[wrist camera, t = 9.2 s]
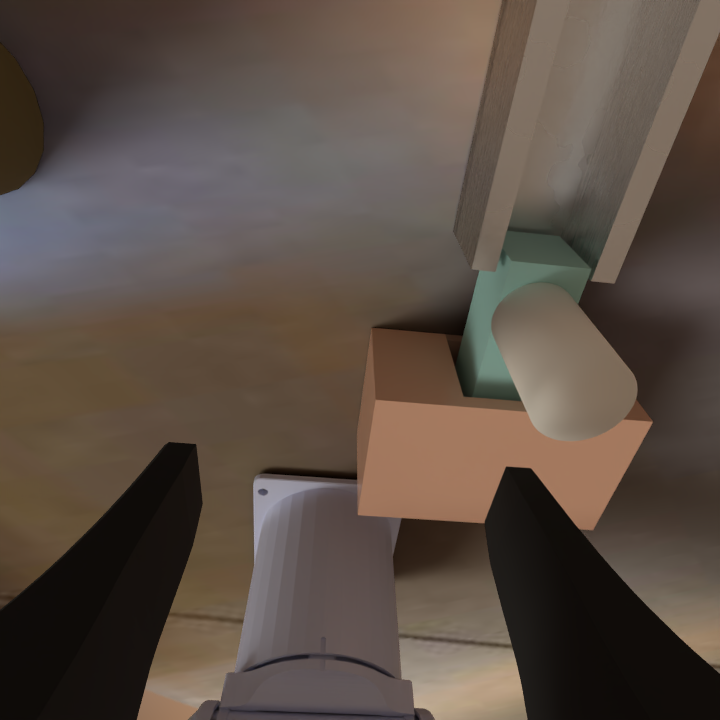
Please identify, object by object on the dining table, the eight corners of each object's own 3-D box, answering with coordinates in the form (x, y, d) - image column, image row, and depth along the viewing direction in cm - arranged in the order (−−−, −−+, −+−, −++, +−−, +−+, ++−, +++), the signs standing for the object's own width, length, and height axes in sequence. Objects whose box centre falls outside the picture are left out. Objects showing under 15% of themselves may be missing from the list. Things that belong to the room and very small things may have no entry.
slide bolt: (504, 406, 23) (560, 547, 17) (443, 401, 23) (477, 542, 16) (561, 235, 19) (665, 341, 12) (487, 228, 18) (554, 331, 12)
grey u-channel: (574, 243, 20) (614, 283, 17) (453, 231, 19) (471, 269, 16) (664, -10, 15) (741, -19, 12) (509, -32, 15) (548, -46, 12)
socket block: (553, 447, 26) (592, 530, 21) (357, 433, 25) (357, 515, 21) (596, 347, 22) (653, 421, 18) (371, 327, 22) (375, 399, 17)
